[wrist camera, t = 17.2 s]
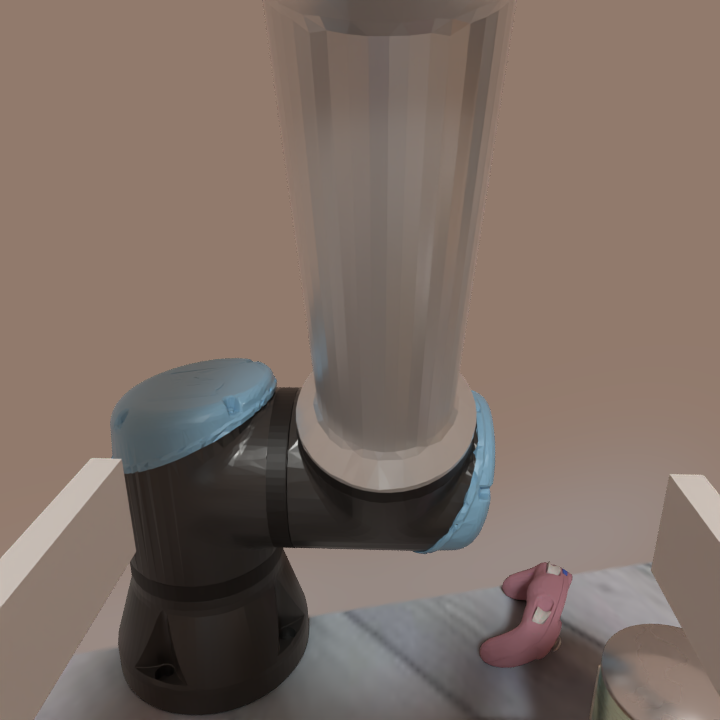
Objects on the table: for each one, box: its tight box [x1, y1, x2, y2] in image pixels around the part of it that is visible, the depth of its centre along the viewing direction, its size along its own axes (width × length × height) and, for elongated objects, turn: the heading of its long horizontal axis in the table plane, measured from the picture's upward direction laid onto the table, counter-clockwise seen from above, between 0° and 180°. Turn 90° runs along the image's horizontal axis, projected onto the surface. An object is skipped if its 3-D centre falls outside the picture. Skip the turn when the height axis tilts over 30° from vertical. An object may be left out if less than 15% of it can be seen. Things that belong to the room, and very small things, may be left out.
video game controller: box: [480, 562, 572, 668], centre depth 53 cm, size 10×5×7 cm, turn 156°
